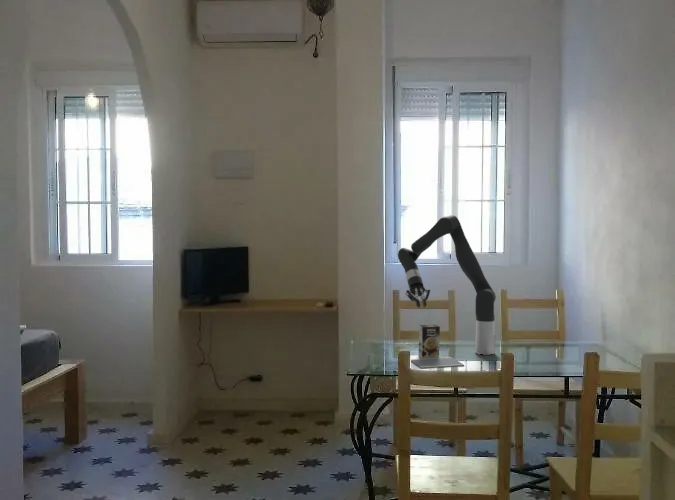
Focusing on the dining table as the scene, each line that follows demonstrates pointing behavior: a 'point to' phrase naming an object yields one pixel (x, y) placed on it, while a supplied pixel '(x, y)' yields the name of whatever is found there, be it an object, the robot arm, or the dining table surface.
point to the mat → (436, 362)
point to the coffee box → (429, 341)
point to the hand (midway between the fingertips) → (422, 306)
